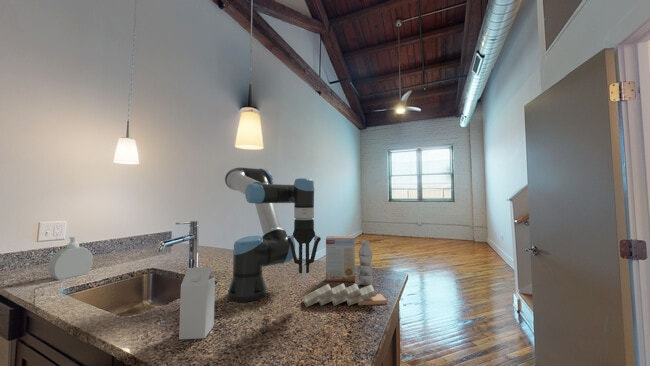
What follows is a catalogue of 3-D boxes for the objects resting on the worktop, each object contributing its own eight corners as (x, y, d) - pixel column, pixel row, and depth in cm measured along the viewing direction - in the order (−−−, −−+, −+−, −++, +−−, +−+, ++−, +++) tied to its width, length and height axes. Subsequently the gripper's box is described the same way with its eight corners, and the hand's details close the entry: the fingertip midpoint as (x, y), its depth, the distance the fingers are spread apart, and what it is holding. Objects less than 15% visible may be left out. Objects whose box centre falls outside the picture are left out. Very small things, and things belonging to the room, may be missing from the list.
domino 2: (318, 300, 92) (346, 288, 93) (318, 294, 98) (343, 283, 99) (320, 306, 92) (348, 293, 93) (319, 299, 98) (345, 287, 99)
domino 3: (332, 301, 93) (359, 288, 93) (330, 294, 98) (356, 283, 99) (334, 306, 92) (361, 293, 93) (332, 299, 98) (358, 288, 99)
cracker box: (354, 278, 125) (354, 235, 126) (355, 282, 118) (354, 237, 120) (326, 277, 126) (326, 235, 127) (325, 281, 120) (325, 237, 121)
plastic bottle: (374, 283, 116) (374, 240, 118) (371, 288, 110) (370, 242, 112) (361, 281, 119) (360, 239, 120) (357, 286, 113) (356, 241, 114)
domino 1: (304, 302, 91) (331, 288, 93) (302, 296, 97) (328, 283, 99) (306, 307, 91) (333, 293, 93) (304, 301, 97) (330, 288, 99)
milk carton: (190, 327, 78) (192, 264, 79) (213, 326, 78) (215, 264, 79) (178, 340, 70) (181, 271, 72) (204, 339, 71) (206, 270, 72)
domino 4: (346, 300, 93) (374, 290, 93) (345, 293, 99) (371, 284, 99) (348, 305, 93) (376, 295, 93) (347, 298, 99) (373, 289, 99)
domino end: (358, 301, 93) (386, 300, 95) (354, 295, 99) (381, 293, 101) (358, 306, 93) (386, 305, 94) (354, 300, 99) (381, 299, 100)
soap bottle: (86, 271, 137) (88, 234, 138) (93, 272, 135) (95, 235, 136) (46, 280, 122) (49, 239, 123) (52, 281, 120) (55, 239, 121)
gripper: (286, 219, 91) (286, 286, 90) (322, 219, 93) (322, 284, 91) (286, 218, 98) (286, 279, 97) (319, 217, 100) (319, 277, 99)
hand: (303, 281), depth 94 cm, fingers closed
